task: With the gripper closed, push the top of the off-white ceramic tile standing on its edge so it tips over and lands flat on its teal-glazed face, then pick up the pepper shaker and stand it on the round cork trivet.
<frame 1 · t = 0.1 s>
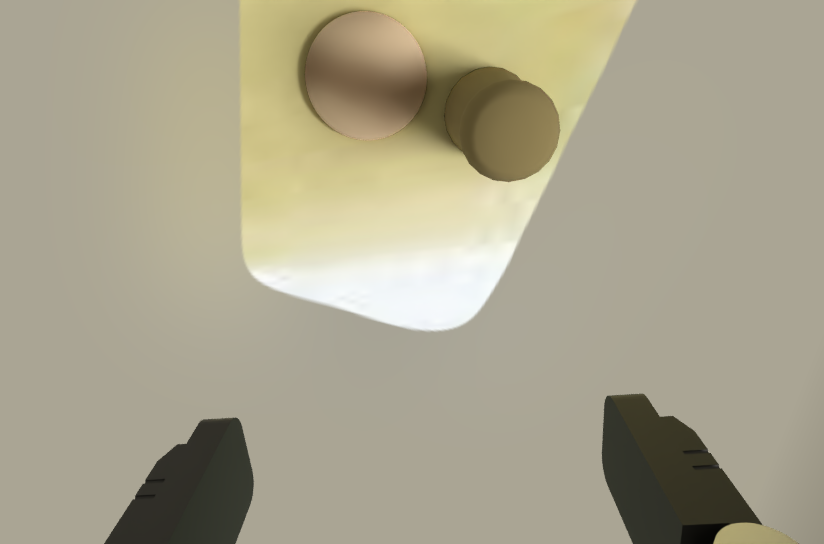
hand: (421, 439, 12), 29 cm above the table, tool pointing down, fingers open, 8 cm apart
pepper shaker: (488, 113, 38), on the table
trivet: (366, 77, 37), on the table
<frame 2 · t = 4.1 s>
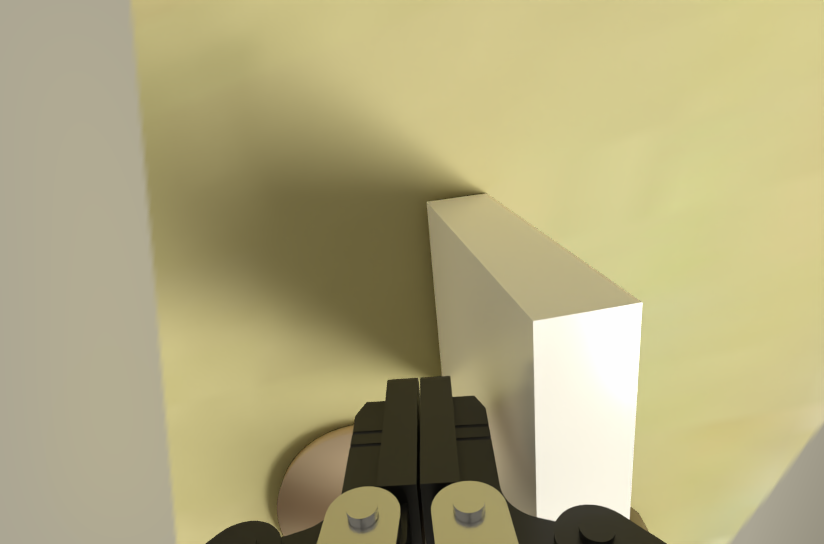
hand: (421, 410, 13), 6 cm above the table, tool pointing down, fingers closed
tile: (463, 296, 19), on the table, tilted 11°
trivet: (378, 504, 23), on the table
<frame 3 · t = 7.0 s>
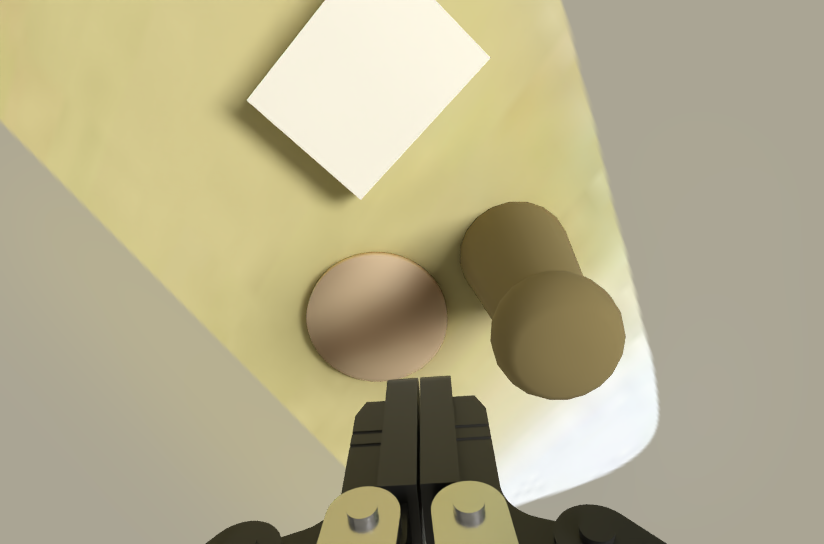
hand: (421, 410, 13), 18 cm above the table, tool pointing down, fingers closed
pepper shaker: (513, 253, 31), on the table
tile: (308, 148, 28), point 1 cm above the table, tilted 90°
trivet: (377, 316, 32), on the table
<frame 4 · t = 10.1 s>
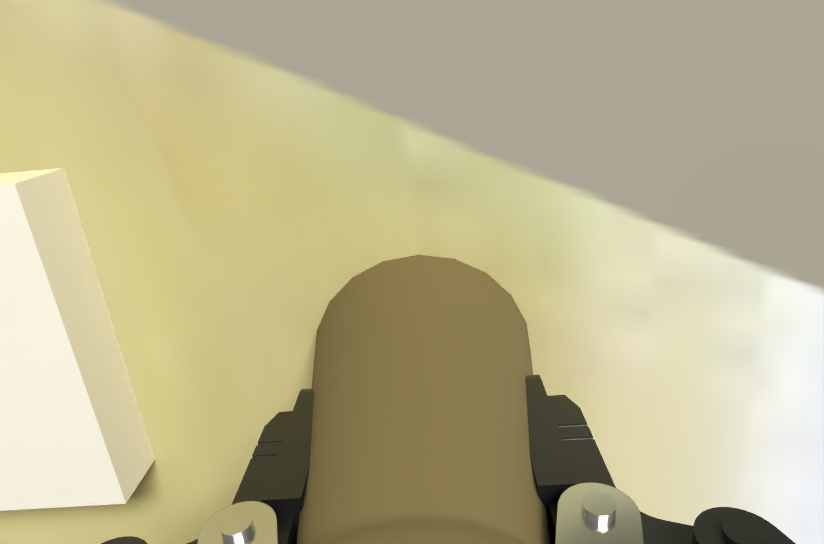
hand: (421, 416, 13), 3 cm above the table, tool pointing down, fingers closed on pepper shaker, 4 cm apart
pepper shaker: (422, 352, 16), on the table, touching gripper
tile: (27, 484, 17), point 1 cm above the table, tilted 90°
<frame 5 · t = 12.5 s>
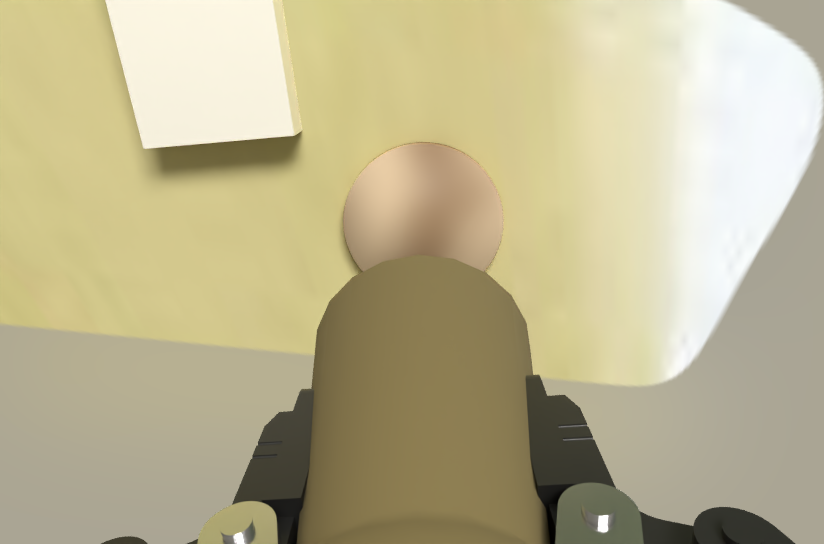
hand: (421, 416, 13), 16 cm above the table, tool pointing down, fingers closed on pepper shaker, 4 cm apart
pepper shaker: (422, 352, 16), point 13 cm above the table, touching gripper
tile: (225, 139, 26), point 1 cm above the table, tilted 90°
trivet: (423, 221, 28), on the table
when the fingers open (4 cm above the table, at t = 15.0 s): pepper shaker stays where it is, resting on trivet.
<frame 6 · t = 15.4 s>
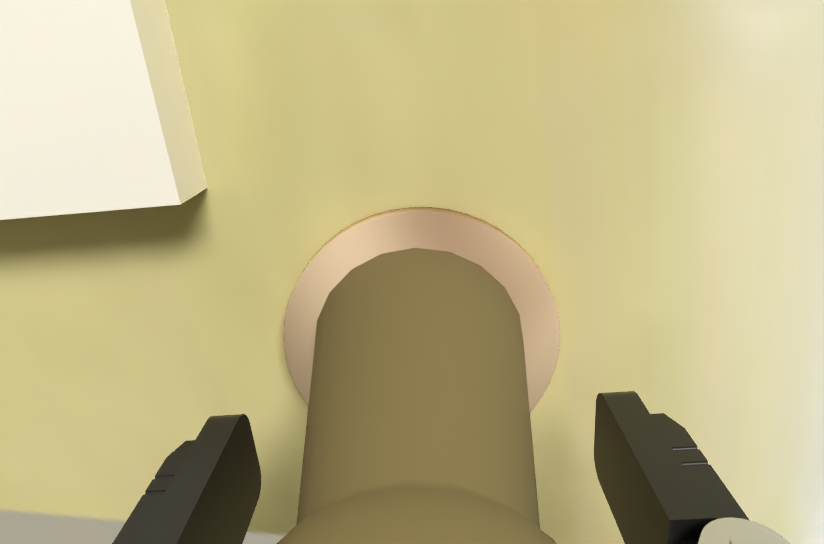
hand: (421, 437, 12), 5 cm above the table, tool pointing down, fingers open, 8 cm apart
pepper shaker: (418, 343, 16), resting on trivet
tile: (65, 206, 15), point 1 cm above the table, tilted 90°
trivet: (421, 336, 17), on the table
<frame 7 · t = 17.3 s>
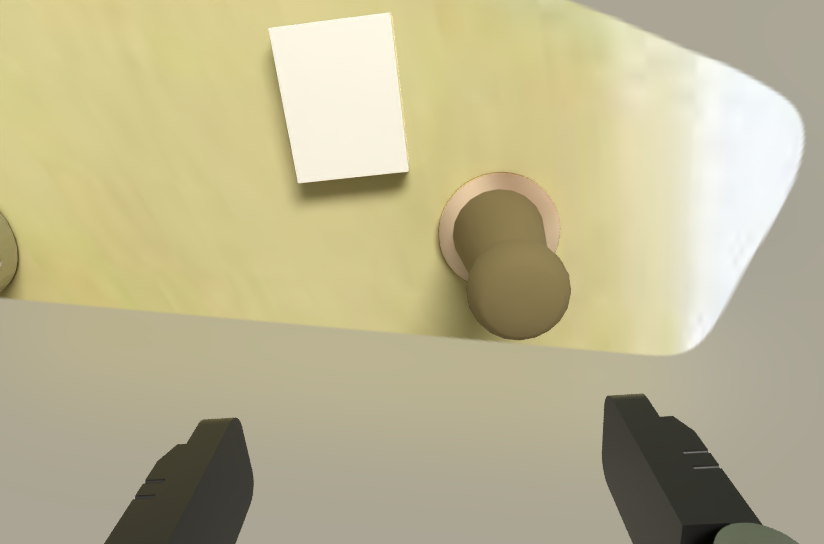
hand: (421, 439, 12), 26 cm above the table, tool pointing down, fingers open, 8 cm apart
pepper shaker: (497, 232, 37), resting on trivet
tile: (355, 174, 36), point 1 cm above the table, tilted 90°
trivet: (498, 231, 38), on the table
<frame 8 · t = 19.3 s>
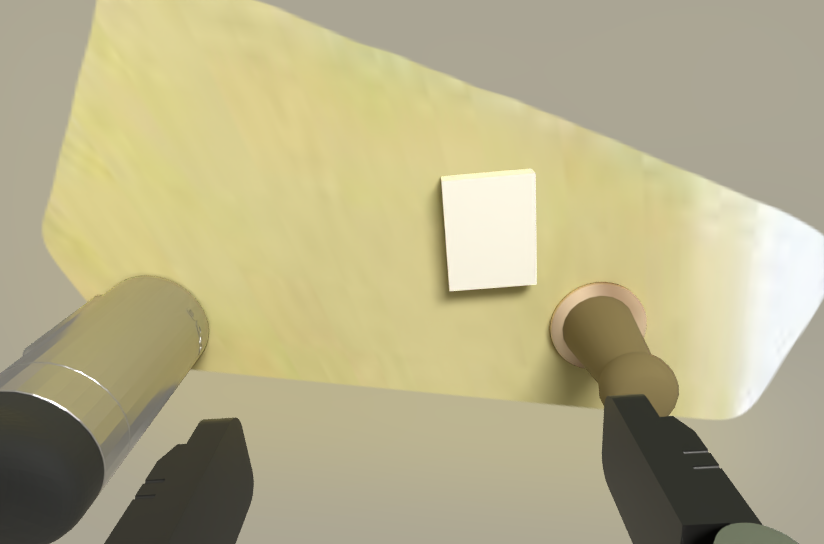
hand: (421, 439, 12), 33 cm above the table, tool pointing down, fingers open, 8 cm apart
pepper shaker: (597, 327, 48), resting on trivet
tile: (491, 283, 46), point 1 cm above the table, tilted 90°
trivet: (596, 325, 48), on the table
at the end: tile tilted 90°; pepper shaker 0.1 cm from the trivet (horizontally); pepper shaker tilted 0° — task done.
